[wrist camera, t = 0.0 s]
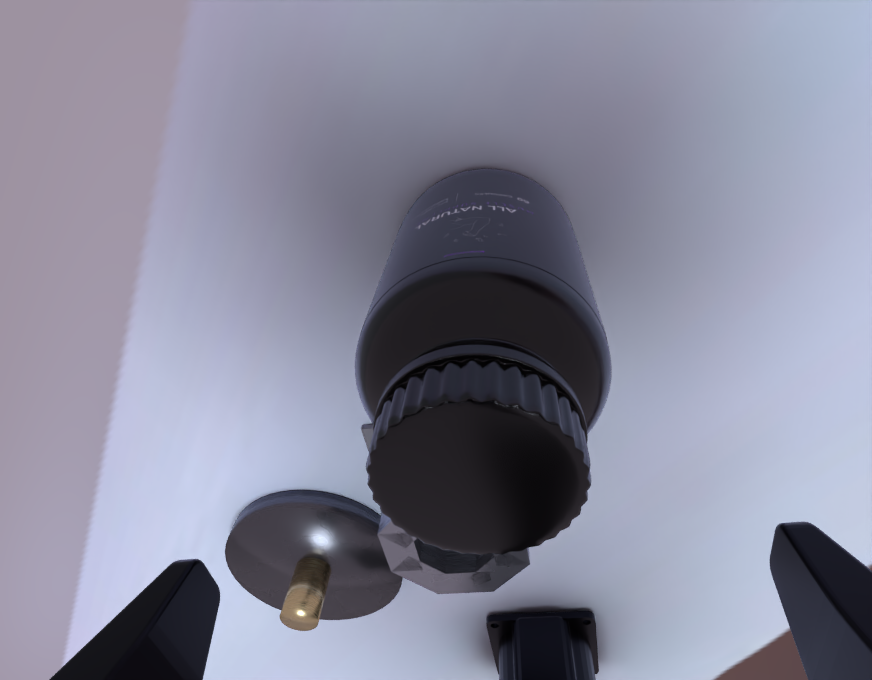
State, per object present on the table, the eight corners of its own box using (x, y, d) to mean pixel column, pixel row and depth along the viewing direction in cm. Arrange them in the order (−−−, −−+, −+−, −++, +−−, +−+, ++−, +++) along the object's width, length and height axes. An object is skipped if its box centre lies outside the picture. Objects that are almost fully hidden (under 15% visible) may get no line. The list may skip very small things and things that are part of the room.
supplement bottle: (483, 121, 19) (483, 278, 9) (610, 250, 21) (722, 492, 11) (360, 254, 22) (257, 482, 12) (482, 355, 24) (481, 619, 14)
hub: (420, 597, 34) (413, 668, 31) (267, 604, 36) (244, 672, 32) (382, 483, 29) (367, 552, 26) (205, 497, 31) (169, 564, 27)
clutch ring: (528, 519, 29) (533, 589, 26) (409, 527, 30) (400, 595, 27) (514, 427, 26) (518, 494, 23) (381, 440, 27) (366, 505, 24)
